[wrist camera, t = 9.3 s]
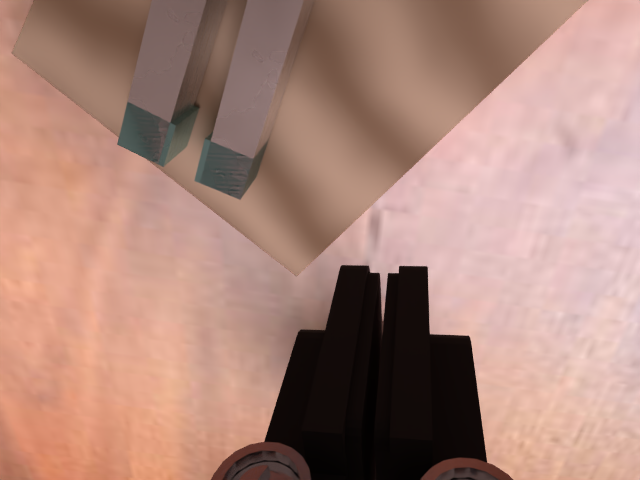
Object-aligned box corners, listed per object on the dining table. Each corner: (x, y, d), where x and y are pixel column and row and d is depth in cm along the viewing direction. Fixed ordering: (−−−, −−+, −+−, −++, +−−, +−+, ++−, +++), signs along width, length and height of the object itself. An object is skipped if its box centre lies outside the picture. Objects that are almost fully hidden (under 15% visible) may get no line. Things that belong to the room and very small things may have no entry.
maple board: (301, 262, 33) (296, 276, 31) (30, 47, 29) (11, 53, 27) (608, -32, 22) (620, -31, 21) (249, -442, 18) (235, -473, 17)
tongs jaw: (298, -151, 20) (281, -164, 18) (355, -126, 21) (346, -135, 18) (214, 159, 28) (194, 180, 26) (256, 176, 28) (240, 199, 26)
